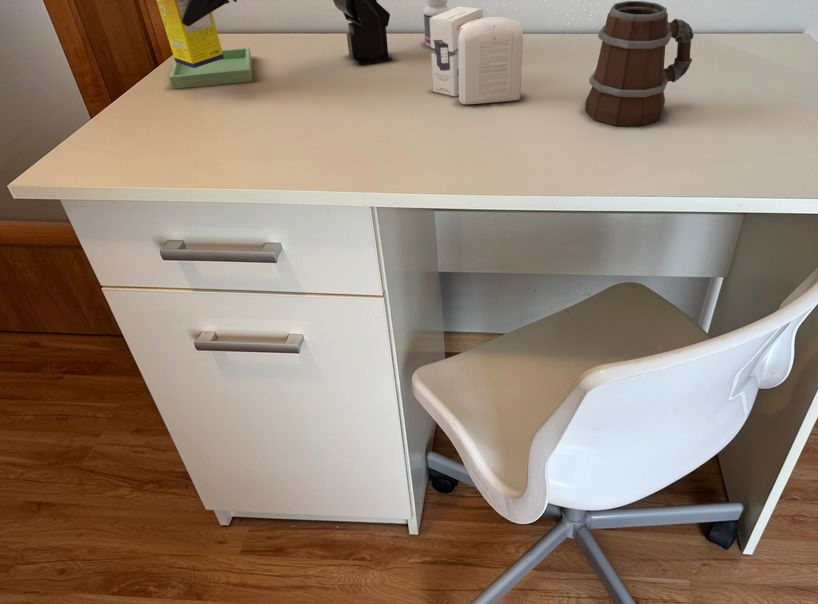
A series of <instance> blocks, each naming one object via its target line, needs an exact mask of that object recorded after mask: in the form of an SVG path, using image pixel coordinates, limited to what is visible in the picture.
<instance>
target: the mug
mask: <svg viewBox="0 0 818 604" xmlns="http://www.w3.org/2000/svg"><path fill="white" fill-rule="evenodd" d="M667 11H668V8H667V7H665V6H663V5H662V4H660V3H656V2H651V1H645V0H643V1H642V0H626V1H622V2H616V3H613V5H612V6H611V8H610V10H609V12H608V13H607V15H606V16H607V17H606V20H605V24H604V25H603V26H602V27H601V29H600V30H599V31H598V35H597V37H598V39H599V40H601V46H600V51H599V55H598V60H597V64H596V69H595V70H594V71H593V73H592V74H591V75H590V76H589V78H588V83H589V85H590V86H591V89H590V91H589V92H588V95H587V97H586V99H585V106H584V109H585V110H584V111H585V113H587V114H588V115H589V116H590V117H591V118H592V119H593V120H595V121H597V122H601V123H604V124H608V125H612V126H617V127H642V126H645V125H649V124H651V123H654V122H659V121H660V120H661V117H662V115H663V112H664V109H665V104H666V97H665V92H664V91H665V90H666V88H667V85H668V82H672V83H675V82H677V81H679V79H681V78H682V77H683V76H684V75H686V73H687V71H688V70H689V68H690V65H691V64H692V62H693V59H692V58H691V50H692V49H691V45H692V40H693V39H694V33H693V28H692V27H691V25H690V24H689V23H688V22H686V21H684V20H683V19H678V18H674V19H673V20H671V22H669V21H668V20H669V13H668V12H667ZM671 38H672V39H674V40H675V42H676V43H677V46H676V49H677V50H676V57H675V58H674V59H673V64H672V63H671V64H669V65H668V66H667V67H665V59H666V58H665V55H666V46H667V45H668V44H669V42H670V41H671Z"/></svg>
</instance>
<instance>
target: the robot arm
mask: <svg viewBox="0 0 818 604" xmlns="http://www.w3.org/2000/svg"><path fill="white" fill-rule="evenodd" d="M232 1H233V2H234V3H237V1H238V0H232ZM332 1H333V3H334V6H335V8H337V9H338V11H340V12H341V13H342V14H343V16H344V18H345V20H346V21H349V22H348V23H347V25H348V26H347V27H348V32H347V33H346V40H347V41H346V42H347V49H348V56H349V57H350V59H352V60H353V61H355V63H356V64H358V65H359V66H361V65H362V66H363V65H368V64H373V63H380V62H387V61H392V60H393V58H392V56H391V55H390V54H389V47H388V35H387V27H388V26H389V24H390V23H389V22H390V18H391V14H390V13H389V11H387V10H386V8H384V7H383V6H382V5H381V4H380V3H379V2H378V0H332ZM229 3H231V2H230V0H189V2H188V5H187V7H186V10H185V13H184V16H183V19H182V23H183V24H184V25H186V26H190V25H192V24H193V23H195V22H197V21H198V20H200V19H201V18H203V17H204V16H206V15H208V14H209V13H211V12H212V13H213V12H214V11H215V10H217V9H219V8H222V7H223V6H224V5H226V4H227V5H228V4H229Z"/></svg>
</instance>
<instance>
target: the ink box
mask: <svg viewBox="0 0 818 604" xmlns="http://www.w3.org/2000/svg"><path fill="white" fill-rule="evenodd" d="M483 11H484V10H483V9H481V8H478V7H469V6H461V5H460V6H459V5H458V6H456V7H454V8H450V10H449V11H446V12H443V13H441V14H438V15H436V16H433V17H431V18H430V39H431V47H430V57H431V73H432V74H431V77H432V92H434V93H437V94H441V95H442V94H443V95H446V96H451V97H459V49H458V39H459V33H460V27H461V26H462V25H464V24H466V23H468V22H471V21H474V20H477V19H481V18H484V12H483Z"/></svg>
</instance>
